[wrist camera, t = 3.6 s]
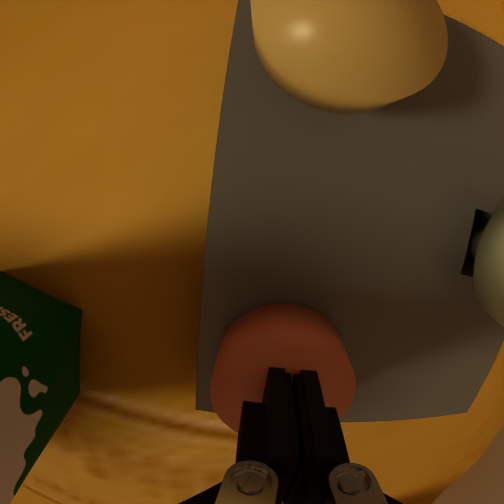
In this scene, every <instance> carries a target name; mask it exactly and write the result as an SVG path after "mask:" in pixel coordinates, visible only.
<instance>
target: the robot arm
mask: <svg viewBox="0 0 504 504" xmlns="http://www.w3.org/2000/svg"><path fill="white" fill-rule="evenodd" d="M282 501H283V504H403V503H401V502H399V501H397V500H395V499H393V498H391V497H390V496H388V495H386V494H384V493H383V492H382V490H381V488H380V486H379V484H378V482H377V480H376V478H375V476H374V474H373V473H372V472H371V471H370V470H369V469H368V468H366V467H365V466H362V465H360V464H355V463H350V461H349V457H348V452H347V448H346V444H345V440H344V436H343V433H342V429H341V425H340V421H339V417H338V413H337V410H336V408H335V407H325V403H324V398H323V394H322V390H321V385H320V381H319V377H318V373H317V371H311V370H301V371H300V374H297V373H295V374H294V376H293V380H291V373H286V372H285V368H275V367H269V369H268V374H267V379H266V384H265V389H264V394H263V399H262V403H260V402H250V401H243V404H242V410H241V417H240V424H239V432H238V442H237V453H236V463H235V464H233V465H232V466H231V467H230V468H228V470H227V471H226V473H225V475H224V478H223V481H222V482H220V483H218V484H217V485H215V486H213V487H211V488H209V489H207V490H205V491H203V492H201V493H199V494H197V495H195V496H193V497H191V498H189V499H187V500H185V501H183V502H181V503H179V504H282Z"/></svg>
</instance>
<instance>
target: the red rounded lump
mask: <svg viewBox="0 0 504 504" xmlns="http://www.w3.org/2000/svg"><path fill="white" fill-rule="evenodd" d="M269 367H275V368H285V372H286V373H291V380H293V376H294V374H295V373H297V374H300V371H301V370H311V371H317V373H318V377H319V381H320V385H321V390H322V394H323V398H324V403H325V407H335V408H336V410H337V413H338V417H339V419H341V417H342V416H343V415H344V414H345V413H346V411H347V410H348V408H349V407H350V405H351V403H352V401H353V398H354V395H355V390H356V378H355V373H354V371H353V368H352V365H351V363H350V360H349V358H348V355H347V353H346V350H345V348H344V346H343V343H342V341H341V338H340V336H339V334H338V331H337V330H336V328H335V327H334V325H333V324H332V323H331V322H330V321H329V320H328V319H327V318H326V317H324V316H323V315H322V314H320V313H318V312H317V311H315V310H313V309H310V308H308V307H304V306H301V305H296V304H285V303H282V304H271V305H266V306H262V307H259V308H256V309H254V310H251V311H249V312H247V313H246V314H244V315H242V316H241V317H239V318H238V319H237V320H236V321H234V322H233V323H232V324H231V325H230V327H229V328H228V329H227V331H226V332H225V334H224V335H223V337H222V339H221V342H220V345H219V349H218V354H217V358H216V362H215V367H214V371H213V375H212V380H211V385H210V398H211V403H212V405H213V408H214V410H215V411H216V413H217V415H218V416H219V417H220V419H221V420H222V421H223V422H224V423H225V424H226V425H227V426H229V427H230V428H231V429H233V430H234V431H236V432H239V424H240V417H241V410H242V404H243V401H250V402H260V403H262V399H263V394H264V389H265V384H266V379H267V374H268V369H269Z"/></svg>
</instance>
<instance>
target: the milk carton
mask: <svg viewBox="0 0 504 504" xmlns="http://www.w3.org/2000/svg"><path fill="white" fill-rule="evenodd" d="M80 325H81V310H80V309H78V308H76V307H73V306H71V305H69V304H67V303H65V302H62V301H60V300H58V299H56V298H54V297H52V296H49V295H47V294H45V293H43V292H41V291H39V290H37V289H35V288H33V287H31V286H29V285H27V284H25V283H23V282H21V281H19V280H17V279H15V278H13V277H11V276H9V275H8V274H6V273H4V272H2V271H0V504H10V503H11V501H12V499H13V498H14V496H15V494H16V493H17V491H18V489H19V488H20V486H21V484H22V483H23V481H24V480H25V478H26V476H27V475H28V473H29V471H30V470H31V468H32V467H33V465H34V464H35V462H36V460H37V459H38V457H39V456H40V454H41V453H42V451H43V450H44V448H45V447H46V445H47V443H48V442H49V440H50V439H51V437H52V436H53V434H54V433H55V431H56V430H57V428H58V427H59V425H60V424H61V422H62V420H63V419H64V417H65V416H66V414H67V412H68V411H69V409H70V407H71V406H72V404H73V403H74V401H75V400H76V398H77V397H78V395H79V393H80V390H79V351H80Z"/></svg>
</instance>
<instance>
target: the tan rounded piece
mask: <svg viewBox="0 0 504 504" xmlns="http://www.w3.org/2000/svg"><path fill="white" fill-rule="evenodd" d="M250 3H251V15H252V27H253V38H254V46H255V50H256V53H257V56H258V58H259V61H260V63H261V65H262V66H263V68H264V70H265V71H266V73H267V74H268V75H269V77H270V78H271V79H272V80H273V81H274V82H275V83H276V84H277V86H278V87H279V88H281V89H282V90H283V91H284V92H286V93H287V94H288V95H289V96H291V97H293V98H294V99H296V100H297V101H299V102H301V103H303V104H305V105H307V106H309V107H312V108H314V109H317V110H320V111H324V112H328V113H334V114H341V115H354V114H363V113H367V112H371V111H374V110H377V109H379V108H382V107H384V106H386V105H388V104H391V103H393V102H396V101H398V100H400V99H403V98H405V97H408V96H410V95H412V94H415V93H416V92H418V91H420V90H422V89H424V88H425V87H426V86H427V85H428V84H430V83H431V82H432V81H433V80H434V79H435V77H436V76H437V75H438V74H439V72H440V70H441V68H442V67H443V64H444V61H445V59H446V55H447V49H448V33H447V26H446V22H445V18H444V15H443V13H442V10H441V8H440V6H439V4H438V2H437V0H250Z"/></svg>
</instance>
